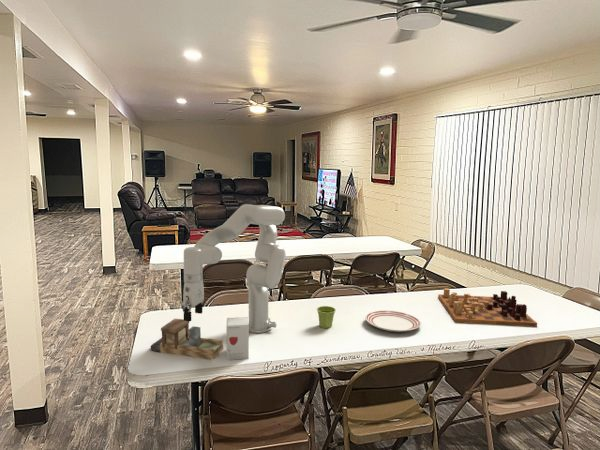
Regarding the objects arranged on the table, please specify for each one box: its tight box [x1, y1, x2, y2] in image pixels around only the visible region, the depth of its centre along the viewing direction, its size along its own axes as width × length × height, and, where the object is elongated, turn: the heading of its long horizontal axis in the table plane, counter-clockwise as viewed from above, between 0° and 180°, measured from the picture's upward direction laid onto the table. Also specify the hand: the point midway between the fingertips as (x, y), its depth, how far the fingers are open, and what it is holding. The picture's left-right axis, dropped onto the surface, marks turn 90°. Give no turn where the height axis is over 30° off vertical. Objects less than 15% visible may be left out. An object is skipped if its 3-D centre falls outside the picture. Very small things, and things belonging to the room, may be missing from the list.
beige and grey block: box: [166, 325, 202, 347], centre depth 182 cm, size 14×6×8 cm, turn 76°
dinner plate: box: [365, 309, 422, 333], centre depth 214 cm, size 28×27×3 cm
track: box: [150, 318, 224, 361], centre depth 182 cm, size 28×11×11 cm, turn 76°
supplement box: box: [226, 316, 250, 361], centre depth 178 cm, size 9×9×15 cm
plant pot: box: [316, 305, 336, 329], centre depth 211 cm, size 9×9×9 cm
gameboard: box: [437, 287, 538, 327], centre depth 236 cm, size 40×40×9 cm
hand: (193, 316), depth 179 cm, fingers open, 9 cm apart
